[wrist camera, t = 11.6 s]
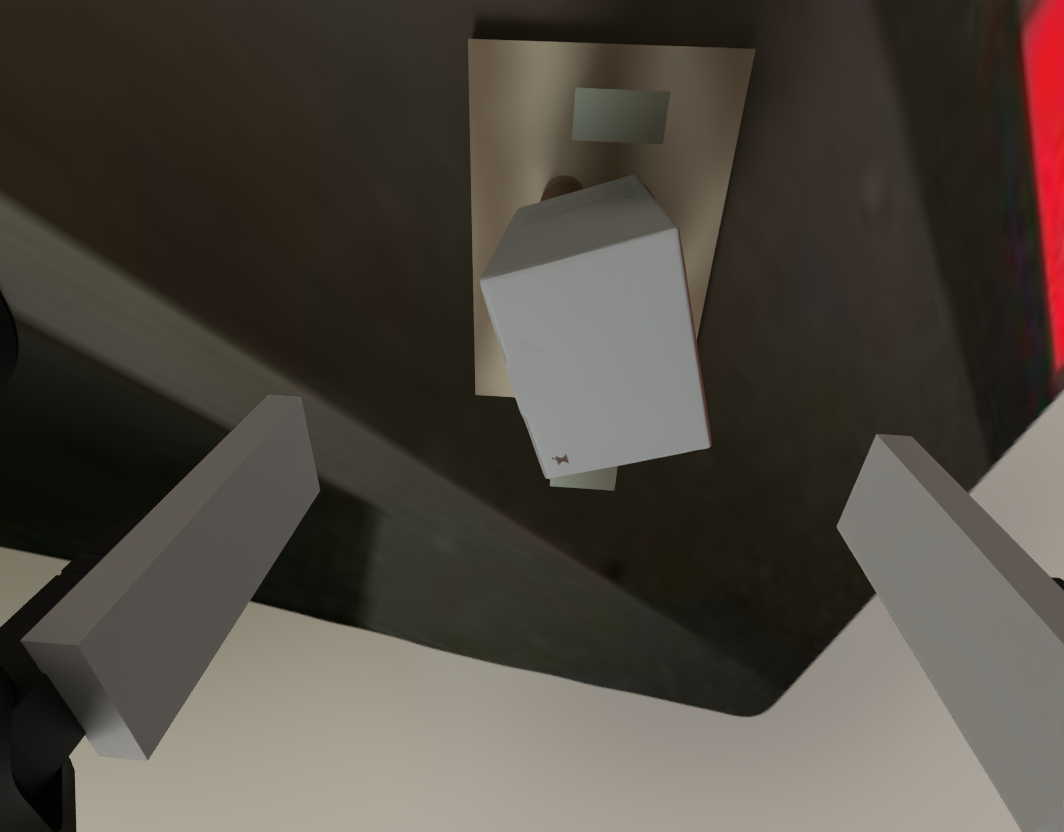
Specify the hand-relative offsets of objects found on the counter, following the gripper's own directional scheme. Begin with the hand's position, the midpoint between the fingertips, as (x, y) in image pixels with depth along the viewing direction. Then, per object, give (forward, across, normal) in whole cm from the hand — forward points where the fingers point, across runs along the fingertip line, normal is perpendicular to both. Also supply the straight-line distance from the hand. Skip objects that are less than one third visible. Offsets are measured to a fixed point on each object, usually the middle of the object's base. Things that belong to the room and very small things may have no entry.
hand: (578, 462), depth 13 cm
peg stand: (+23, +1, 0) cm, 23 cm away
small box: (+19, +1, 0) cm, 19 cm away
